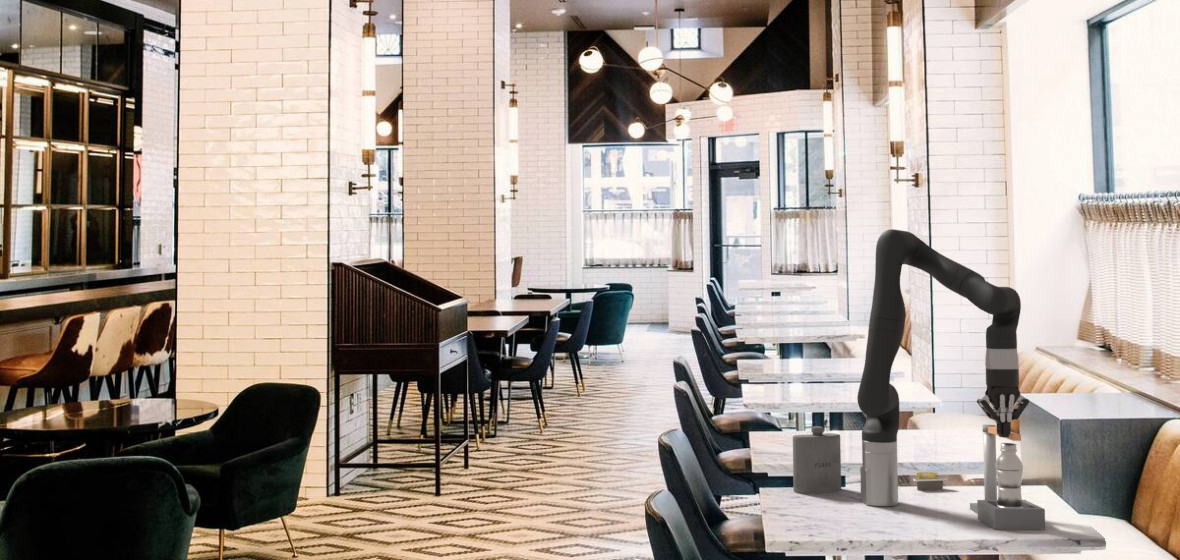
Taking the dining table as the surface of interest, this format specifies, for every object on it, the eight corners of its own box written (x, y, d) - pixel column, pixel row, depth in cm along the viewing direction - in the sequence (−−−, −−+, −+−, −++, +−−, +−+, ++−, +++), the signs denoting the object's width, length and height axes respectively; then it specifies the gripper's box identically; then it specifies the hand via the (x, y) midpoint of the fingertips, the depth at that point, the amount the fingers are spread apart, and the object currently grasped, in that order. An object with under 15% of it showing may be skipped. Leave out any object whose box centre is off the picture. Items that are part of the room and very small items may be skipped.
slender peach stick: (1023, 441, 224) (1023, 433, 224) (1010, 441, 224) (1010, 433, 224) (992, 431, 242) (992, 424, 242) (980, 431, 242) (980, 424, 243)
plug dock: (995, 529, 223) (993, 443, 224) (962, 510, 244) (960, 431, 245) (1045, 529, 222) (1043, 443, 223) (1007, 510, 244) (1006, 431, 245)
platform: (890, 492, 272) (889, 470, 272) (946, 490, 274) (946, 468, 275) (909, 500, 260) (909, 477, 260) (968, 497, 263) (968, 475, 263)
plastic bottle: (1022, 522, 230) (1020, 442, 231) (1026, 528, 224) (1024, 446, 225) (995, 520, 233) (993, 441, 233) (997, 526, 226) (995, 445, 227)
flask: (800, 499, 260) (799, 429, 261) (790, 495, 266) (789, 426, 267) (846, 496, 265) (845, 426, 266) (835, 492, 270) (834, 424, 271)
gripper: (984, 368, 222) (986, 439, 222) (1036, 367, 224) (1038, 438, 223) (968, 366, 230) (970, 435, 229) (1018, 365, 231) (1020, 434, 231)
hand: (1003, 436), depth 226 cm, fingers closed
